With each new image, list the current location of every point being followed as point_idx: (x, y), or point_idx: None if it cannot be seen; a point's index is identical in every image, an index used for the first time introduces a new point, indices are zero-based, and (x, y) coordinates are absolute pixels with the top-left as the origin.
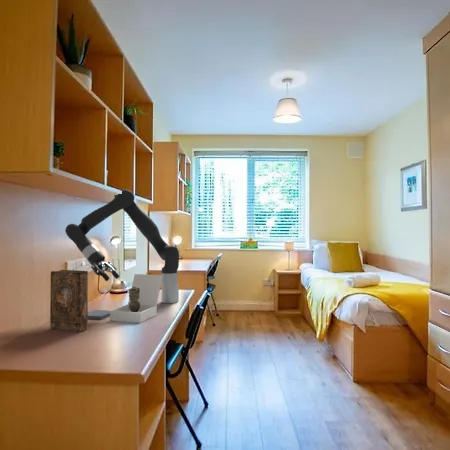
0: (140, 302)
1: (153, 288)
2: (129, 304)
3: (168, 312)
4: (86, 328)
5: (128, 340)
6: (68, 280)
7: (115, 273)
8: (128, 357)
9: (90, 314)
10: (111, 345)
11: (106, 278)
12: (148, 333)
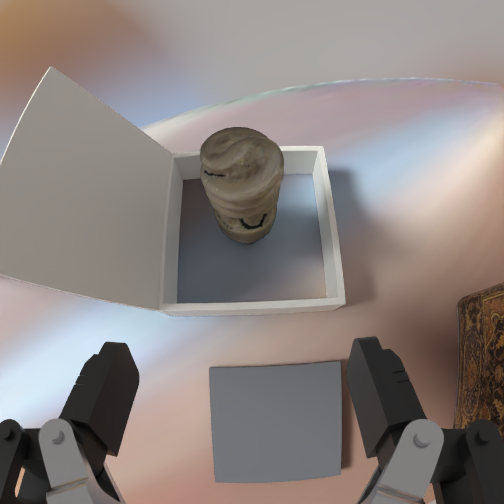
0: (154, 229)
1: (100, 137)
2: (272, 220)
3: None
4: (471, 294)
5: (457, 132)
6: None
7: (107, 399)
8: (494, 107)
9: (318, 439)
10: (492, 152)
11: (391, 360)
12: (397, 108)
